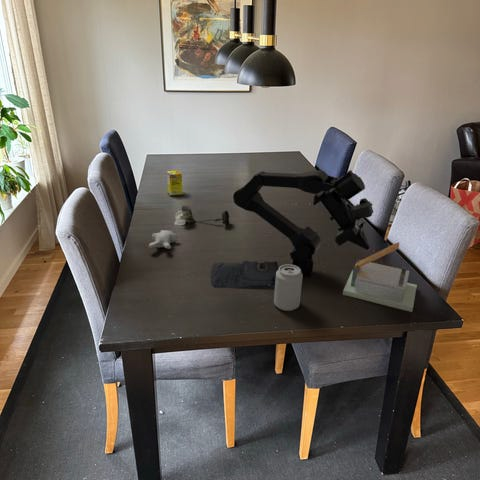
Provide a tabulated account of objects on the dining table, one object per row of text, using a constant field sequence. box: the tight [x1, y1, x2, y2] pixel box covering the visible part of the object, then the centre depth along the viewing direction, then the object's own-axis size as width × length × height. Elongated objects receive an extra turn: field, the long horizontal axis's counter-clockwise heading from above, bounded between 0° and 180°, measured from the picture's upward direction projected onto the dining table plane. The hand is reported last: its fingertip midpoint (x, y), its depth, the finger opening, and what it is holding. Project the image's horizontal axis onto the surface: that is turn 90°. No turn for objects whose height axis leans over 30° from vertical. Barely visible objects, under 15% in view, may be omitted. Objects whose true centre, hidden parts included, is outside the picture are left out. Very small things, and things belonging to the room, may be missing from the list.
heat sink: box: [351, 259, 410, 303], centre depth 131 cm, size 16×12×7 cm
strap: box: [354, 241, 400, 268], centre depth 129 cm, size 15×4×1 cm
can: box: [273, 264, 303, 312], centre depth 122 cm, size 8×8×12 cm
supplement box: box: [166, 170, 183, 198], centre depth 205 cm, size 6×6×11 cm
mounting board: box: [342, 269, 418, 313], centre depth 132 cm, size 20×14×2 cm
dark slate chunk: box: [210, 260, 279, 290], centre depth 138 cm, size 15×22×5 cm
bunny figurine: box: [147, 229, 179, 250], centre depth 156 cm, size 10×5×15 cm
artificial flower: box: [173, 205, 230, 228], centre depth 174 cm, size 9×22×10 cm, turn 79°
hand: (368, 248), depth 129 cm, fingers closed
